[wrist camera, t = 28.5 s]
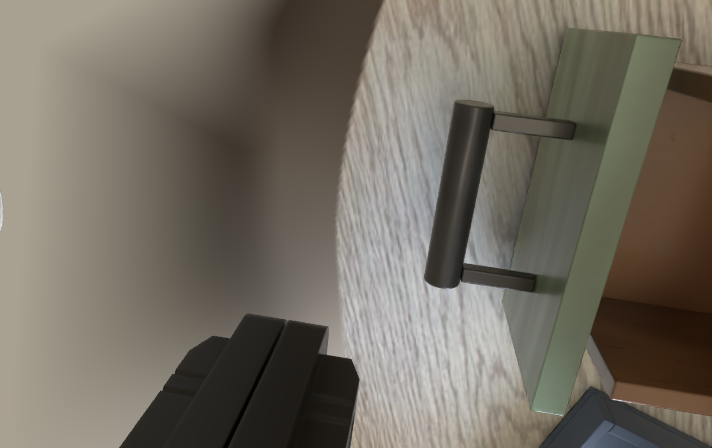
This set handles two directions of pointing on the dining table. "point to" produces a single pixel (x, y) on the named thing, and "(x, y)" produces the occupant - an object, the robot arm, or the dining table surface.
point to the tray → (614, 427)
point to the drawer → (600, 224)
